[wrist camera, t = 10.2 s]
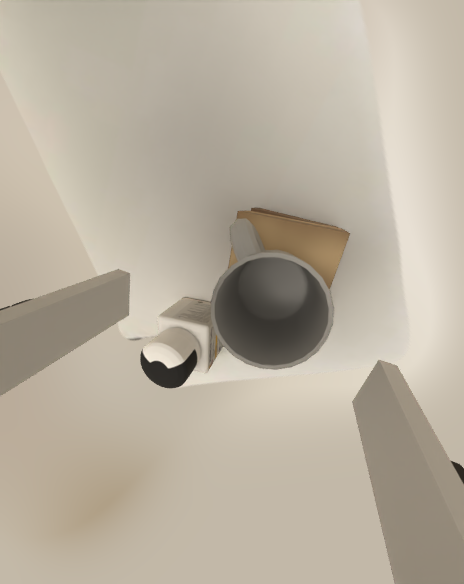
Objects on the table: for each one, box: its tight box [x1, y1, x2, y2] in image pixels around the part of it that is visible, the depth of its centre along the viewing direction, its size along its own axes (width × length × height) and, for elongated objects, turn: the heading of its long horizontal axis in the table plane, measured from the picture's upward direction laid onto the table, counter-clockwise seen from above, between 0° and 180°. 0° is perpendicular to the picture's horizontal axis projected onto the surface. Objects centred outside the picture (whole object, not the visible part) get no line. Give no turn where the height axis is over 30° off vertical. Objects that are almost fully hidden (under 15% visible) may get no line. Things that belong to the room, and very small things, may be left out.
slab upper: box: [228, 211, 350, 289], centre depth 25 cm, size 12×10×5 cm
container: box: [141, 298, 223, 388], centre depth 33 cm, size 8×8×13 cm
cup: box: [210, 218, 334, 369], centre depth 18 cm, size 7×10×9 cm
